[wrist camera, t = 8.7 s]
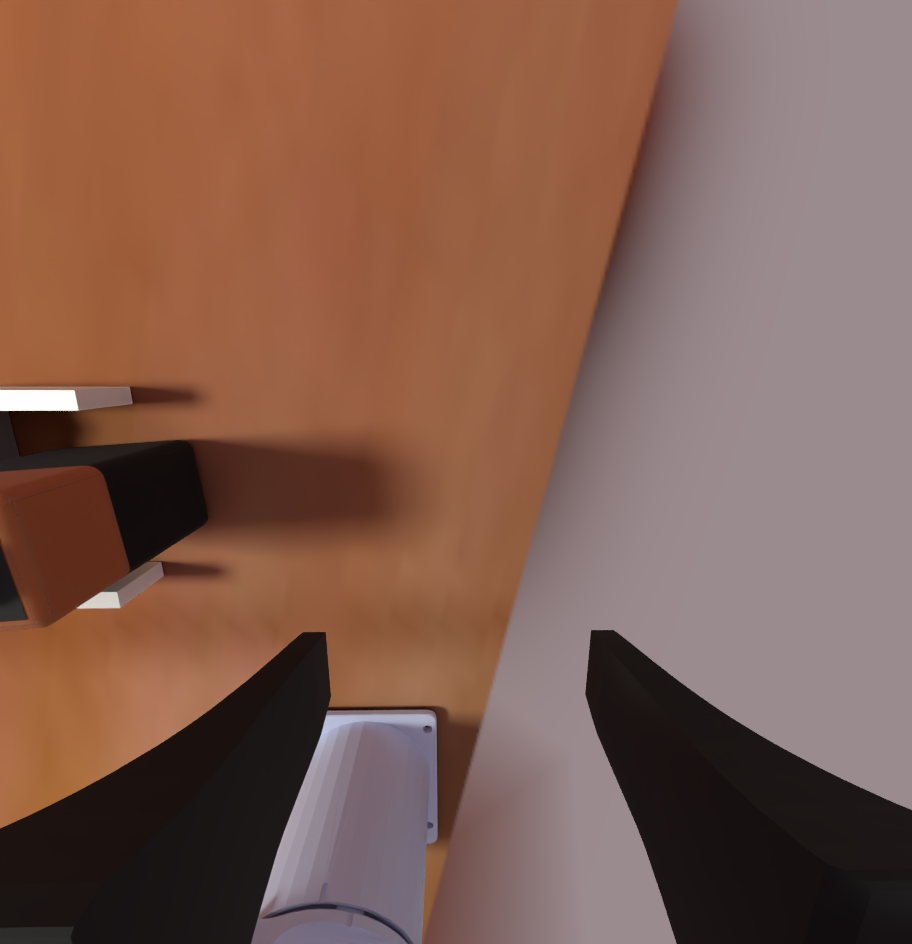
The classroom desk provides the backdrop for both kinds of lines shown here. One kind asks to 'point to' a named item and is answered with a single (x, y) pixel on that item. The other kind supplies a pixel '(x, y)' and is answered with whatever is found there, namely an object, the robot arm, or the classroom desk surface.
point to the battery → (88, 522)
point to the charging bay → (75, 399)
